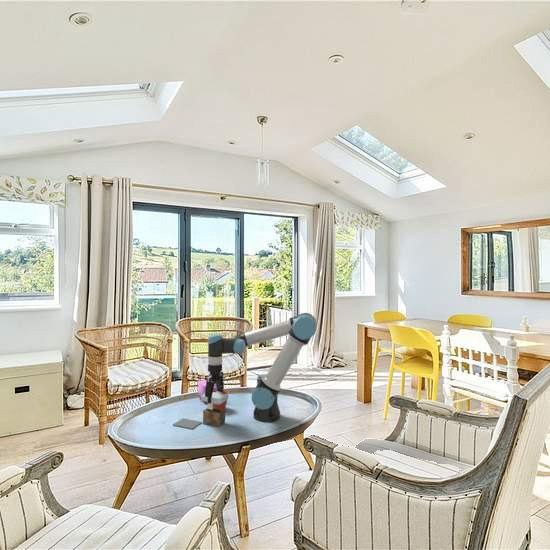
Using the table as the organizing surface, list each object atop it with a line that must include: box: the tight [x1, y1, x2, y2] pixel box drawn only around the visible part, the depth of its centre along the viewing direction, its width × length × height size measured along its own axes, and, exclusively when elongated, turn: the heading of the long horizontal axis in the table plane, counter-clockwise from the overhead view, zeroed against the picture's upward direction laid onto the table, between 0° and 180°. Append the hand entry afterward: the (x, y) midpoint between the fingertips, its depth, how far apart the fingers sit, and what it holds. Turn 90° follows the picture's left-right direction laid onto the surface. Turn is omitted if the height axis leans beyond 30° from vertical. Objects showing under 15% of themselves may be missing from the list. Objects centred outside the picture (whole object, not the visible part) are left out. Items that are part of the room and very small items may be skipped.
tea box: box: [202, 407, 226, 428], centre depth 197 cm, size 10×6×7 cm, turn 68°
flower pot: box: [213, 390, 229, 411], centre depth 217 cm, size 11×11×10 cm
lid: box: [200, 392, 229, 405], centre depth 197 cm, size 12×8×4 cm, turn 68°
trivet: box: [172, 418, 203, 430], centre depth 195 cm, size 12×9×1 cm
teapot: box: [197, 379, 217, 404], centre depth 232 cm, size 20×10×12 cm, turn 28°
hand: (214, 406), depth 197 cm, fingers closed on lid, 8 cm apart
